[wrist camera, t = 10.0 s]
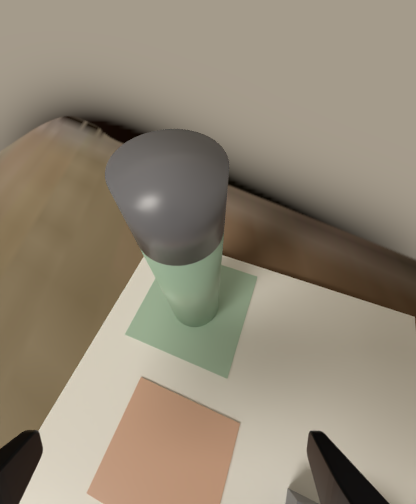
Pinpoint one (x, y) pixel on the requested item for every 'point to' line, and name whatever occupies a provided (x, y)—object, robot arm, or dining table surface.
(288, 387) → the white flat board
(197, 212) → the marker
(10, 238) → the dining table surface
